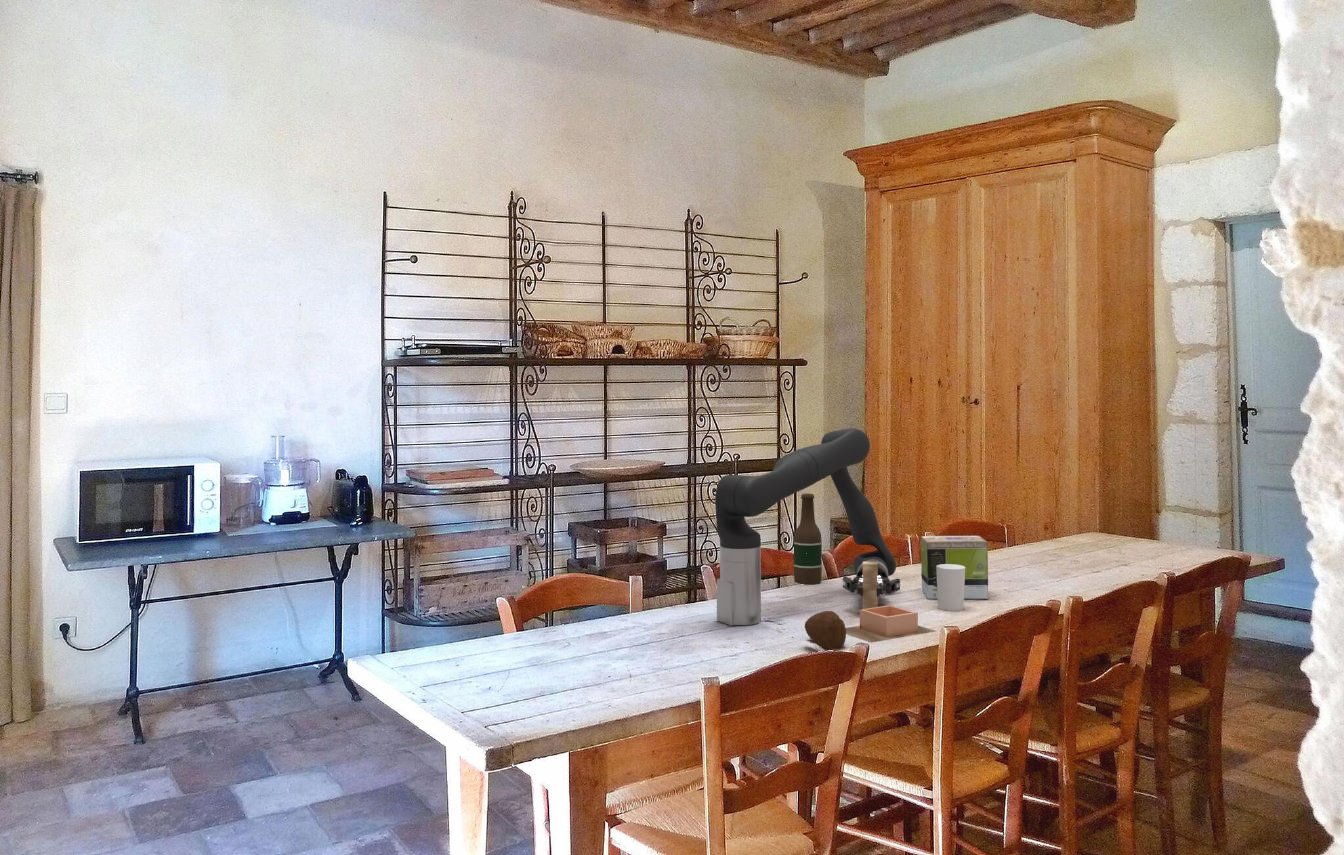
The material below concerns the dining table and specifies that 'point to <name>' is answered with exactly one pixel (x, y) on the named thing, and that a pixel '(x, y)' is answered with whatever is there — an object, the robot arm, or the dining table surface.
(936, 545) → the tea box
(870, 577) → the tan cylinder
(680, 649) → the dining table surface
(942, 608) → the white upright cylinder
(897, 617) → the pink open tray
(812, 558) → the beer bottle
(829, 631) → the potato
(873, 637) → the board
